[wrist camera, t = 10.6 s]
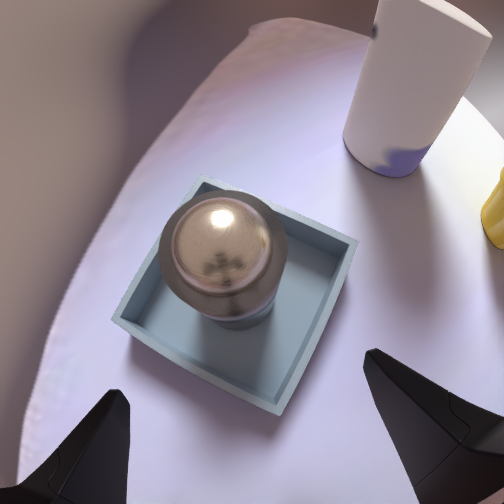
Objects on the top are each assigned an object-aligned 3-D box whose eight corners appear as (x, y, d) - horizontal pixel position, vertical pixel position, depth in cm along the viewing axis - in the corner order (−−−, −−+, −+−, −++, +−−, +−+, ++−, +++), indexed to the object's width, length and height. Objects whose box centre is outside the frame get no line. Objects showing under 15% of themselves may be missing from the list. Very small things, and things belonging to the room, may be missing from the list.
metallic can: (231, 345, 21) (198, 338, 9) (186, 288, 23) (119, 221, 11) (290, 298, 22) (324, 236, 11) (243, 244, 24) (230, 144, 12)
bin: (276, 406, 20) (280, 416, 16) (132, 326, 22) (110, 319, 19) (344, 258, 24) (358, 241, 20) (208, 198, 27) (201, 173, 23)
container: (359, 107, 32) (396, -23, 13) (423, 145, 29) (488, 26, 11) (328, 147, 29) (369, -22, 10) (405, 194, 27) (499, 47, 8)
